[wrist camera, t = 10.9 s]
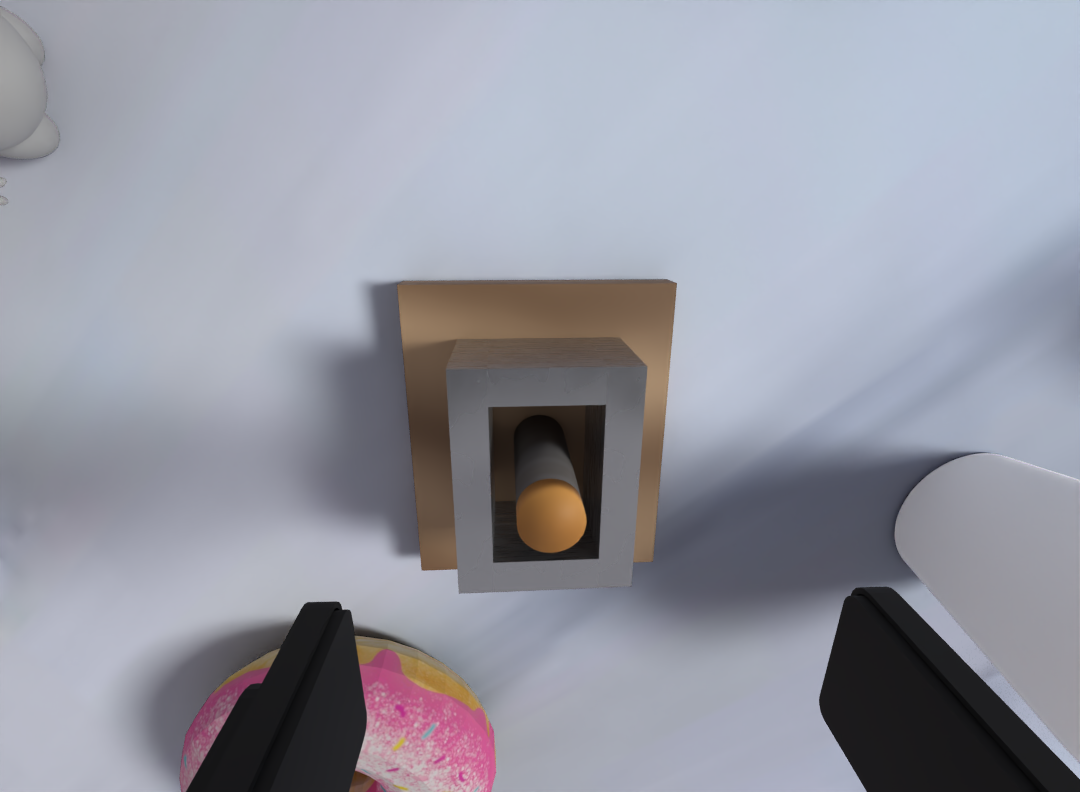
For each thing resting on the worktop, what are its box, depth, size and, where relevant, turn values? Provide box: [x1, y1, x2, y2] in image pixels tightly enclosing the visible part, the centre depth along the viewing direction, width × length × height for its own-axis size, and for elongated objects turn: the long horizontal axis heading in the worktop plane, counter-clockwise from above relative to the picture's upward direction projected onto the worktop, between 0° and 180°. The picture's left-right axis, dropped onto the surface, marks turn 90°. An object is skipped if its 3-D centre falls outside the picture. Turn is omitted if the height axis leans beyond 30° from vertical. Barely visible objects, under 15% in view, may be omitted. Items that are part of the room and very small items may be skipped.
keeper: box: [397, 279, 677, 570], centre depth 18 cm, size 12×10×7 cm
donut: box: [180, 636, 496, 792], centre depth 24 cm, size 14×13×5 cm
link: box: [446, 337, 647, 594], centre depth 19 cm, size 8×6×4 cm
